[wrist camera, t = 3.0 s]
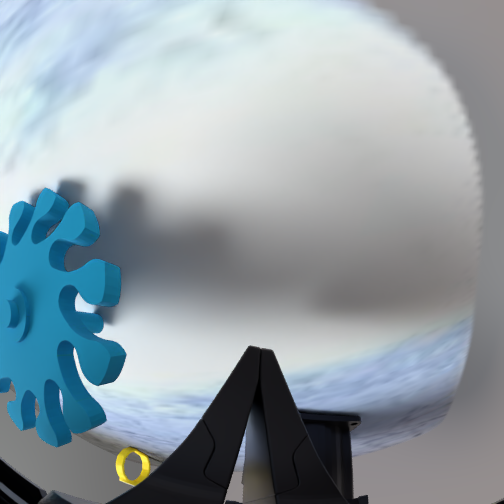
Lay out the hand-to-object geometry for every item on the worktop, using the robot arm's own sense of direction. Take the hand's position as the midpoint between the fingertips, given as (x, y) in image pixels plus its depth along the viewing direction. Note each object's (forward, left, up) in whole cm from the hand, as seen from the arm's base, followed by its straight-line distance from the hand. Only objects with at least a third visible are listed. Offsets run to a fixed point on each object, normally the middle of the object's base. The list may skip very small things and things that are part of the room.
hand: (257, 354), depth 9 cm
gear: (+9, 0, -2) cm, 10 cm away
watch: (+10, +34, -2) cm, 35 cm away
